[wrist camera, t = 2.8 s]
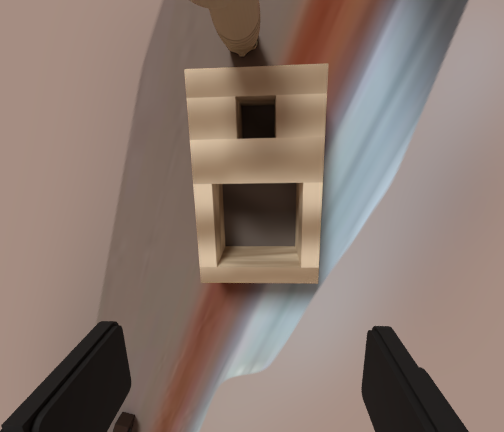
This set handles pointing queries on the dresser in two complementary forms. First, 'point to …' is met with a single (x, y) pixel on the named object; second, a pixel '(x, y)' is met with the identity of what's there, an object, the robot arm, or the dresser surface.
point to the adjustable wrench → (124, 423)
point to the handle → (235, 22)
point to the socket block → (258, 170)
